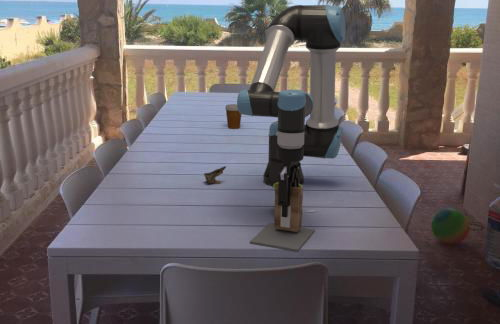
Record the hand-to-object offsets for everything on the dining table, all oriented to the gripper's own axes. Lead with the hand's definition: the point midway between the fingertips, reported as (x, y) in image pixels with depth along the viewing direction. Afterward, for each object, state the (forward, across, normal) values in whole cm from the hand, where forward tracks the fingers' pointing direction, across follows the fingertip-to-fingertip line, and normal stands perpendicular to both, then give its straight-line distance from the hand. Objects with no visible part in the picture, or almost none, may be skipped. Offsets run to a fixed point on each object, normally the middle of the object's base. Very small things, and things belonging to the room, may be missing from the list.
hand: (287, 223), depth 172 cm
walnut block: (+1, 0, 0) cm, 1 cm away
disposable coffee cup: (+3, -131, -75) cm, 151 cm away
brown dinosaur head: (+3, -36, -40) cm, 54 cm away
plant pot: (+3, -17, -6) cm, 18 cm away
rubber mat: (+3, +4, 0) cm, 5 cm away
